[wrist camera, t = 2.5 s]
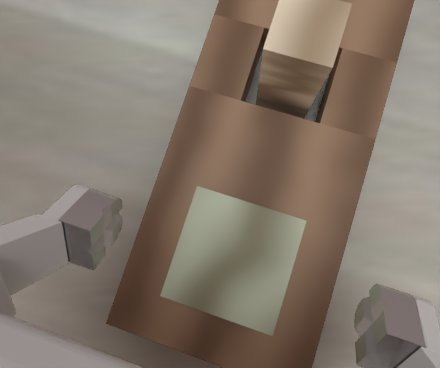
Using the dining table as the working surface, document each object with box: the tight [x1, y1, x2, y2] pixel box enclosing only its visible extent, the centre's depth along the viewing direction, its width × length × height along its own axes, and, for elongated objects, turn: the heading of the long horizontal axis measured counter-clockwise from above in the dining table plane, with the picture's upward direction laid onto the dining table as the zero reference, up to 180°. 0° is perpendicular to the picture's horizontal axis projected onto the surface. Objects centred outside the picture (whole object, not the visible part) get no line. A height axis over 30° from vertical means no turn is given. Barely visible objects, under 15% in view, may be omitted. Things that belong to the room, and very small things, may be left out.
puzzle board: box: [106, 0, 414, 368], centre depth 26 cm, size 14×30×3 cm, turn 162°
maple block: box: [256, 0, 352, 119], centre depth 23 cm, size 4×4×9 cm
